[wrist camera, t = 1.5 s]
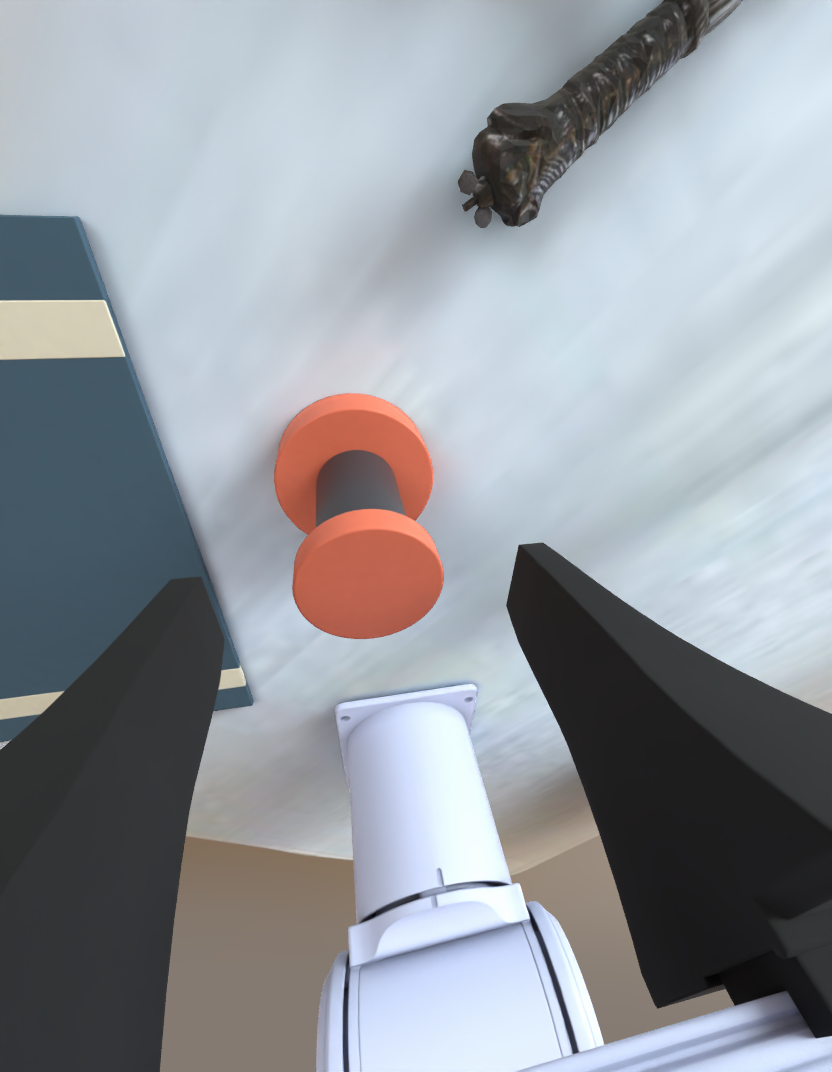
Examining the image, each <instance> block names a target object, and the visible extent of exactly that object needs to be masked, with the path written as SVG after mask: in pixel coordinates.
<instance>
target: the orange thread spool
mask: <svg viewBox="0 0 832 1072" xmlns="http://www.w3.org/2000/svg"><path fill="white" fill-rule="evenodd" d="M274 483H275V491H276V494H277V498H278V501H279V503H280V505H281V507H282V509H283V510H284V512H285V514H286V515H287V516H288V518H289V519H290V520H291V521H292V522H293V523H294V524H295V525H296V526H297V527H298V528H299V529H300V530H302V531H303V532H305V533H306V534H307V535H308V536H307V537H306V538H305V540H304V541H303V542H302V544H301V546H300V547H299V549H298V552H297V554H296V557H295V561H294V573H293V587H292V589H293V597H294V600H295V603H296V605H297V607H298V609H299V611H300V612H301V613H302V615H303V616H304V617H305V618H306V619H307V620H308V621H309V622H310V623H311V624H313V625H314V626H315V627H317V628H319V629H320V630H322V631H324V632H327V633H329V634H332V635H335V636H339V637H344V638H352V639H370V638H378V637H383V636H387V635H391V634H394V633H396V632H399V631H401V630H404V629H406V628H408V627H409V626H411V625H413V624H415V623H416V622H417V621H419V620H420V619H421V618H423V617H424V616H425V615H426V614H427V613H428V612H429V611H430V610H431V608H432V607H433V606H434V604H435V603H436V601H437V599H438V597H439V596H440V593H441V590H442V586H443V580H444V572H443V567H442V563H441V561H440V558H439V555H438V552H437V549H436V546H435V544H434V541H433V540H432V538H431V536H430V535H429V534H428V532H427V531H426V530H425V529H424V528H423V527H422V526H421V525H420V524H418V523H417V522H415V520H416V519H417V518H418V517H419V515H420V514H421V513H422V511H423V509H424V508H425V506H426V504H427V502H428V499H429V497H430V493H431V490H432V484H433V468H432V462H431V459H430V456H429V453H428V450H427V448H426V446H425V444H424V442H423V440H422V437H421V435H420V433H419V431H418V429H417V428H416V426H415V425H414V423H413V422H412V421H411V420H410V418H409V417H408V416H407V415H406V414H405V413H403V412H402V411H401V410H400V409H399V408H397V407H396V406H394V405H392V404H391V403H389V402H387V401H385V400H382V399H380V398H377V397H373V396H370V395H364V394H339V395H334V396H330V397H326V398H324V399H321V400H319V401H317V402H315V403H313V404H311V405H309V406H308V407H306V408H305V409H304V410H302V411H301V412H300V413H299V414H298V415H297V416H296V417H295V418H294V419H293V420H292V421H291V423H290V424H289V425H288V427H287V428H286V430H285V432H284V434H283V436H282V439H281V441H280V444H279V449H278V454H277V460H276V466H275V471H274Z"/></svg>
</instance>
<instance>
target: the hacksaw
mask: <svg viewBox="0 0 832 1072" xmlns="http://www.w3.org/2000/svg"><path fill="white" fill-rule="evenodd" d="M742 1H743V0H663V2H662V4H660V5H659V6H658V7H656V8H655V9H654V10H652V11H651V12H649V13H648V14H647V15H646V17H645V18H644V19H642V20H640V21H638V22H637V23H636V24H635V25H634V26H633V27H632V28H631V29H630V30H629V31H628V32H627V33H626V34H624V35H622V36H621V37H620V38H618V39H617V40H616V41H615V42H614V43H613V44H611V45H610V46H609V47H608V48H607V49H606V50H605V51H604V52H603V53H602V54H600V55H599V56H597V57H596V58H595V59H594V61H593V62H592V63H591V64H589V65H588V66H587V67H585V68H584V69H583V70H581V71H580V72H578V73H576V74H575V75H574V76H573V77H571V78H570V79H569V80H568V81H567V82H566V84H565V85H564V86H563V88H561V89H560V90H559V91H557V92H556V93H555V94H553V95H552V96H551V97H549V98H548V99H547V100H543V101H540V102H537V103H534V104H526V103H507V104H502V105H500V106H498V107H496V108H495V109H494V110H493V111H492V113H491V114H490V115H489V117H488V118H487V123H488V127H487V128H485V129H484V130H482V131H481V132H480V133H479V134H478V135H477V137H476V138H475V140H474V145H473V151H472V159H473V165H474V170H475V175H474V173H473V172H471V171H466V170H464V172H463V174H462V175H461V177H460V179H459V180H458V184H459V188H460V191H461V192H462V193H465V194H468V195H470V194H471V193H473V196H474V197H472V198H471V199H470V200H468V201H467V202H466V203H464V204H463V205H462V207H463V209H464V211H465V212H466V211H467V210H469V209H470V208H472V207H473V206H475V205H476V204H477V206H478V209H477V210H476V212H475V216H474V218H475V222H476V224H477V225H478V226H479V227H480V228H485V227H487V226H488V224H489V223H490V222H491V217H492V212H491V210H490V208H489V207H491V208H492V209H493V210H494V211H495V212H497V213H498V214H499V215H500V216H501V218H502V220H503V222H504V223H505V225H507V226H519V227H520V226H522V225H524V224H526V223H527V222H529V221H531V220H533V219H534V218H536V217H537V215H538V212H539V208H540V204H541V200H542V198H543V195H544V194H545V192H546V191H547V190H548V189H549V188H550V187H551V186H552V184H553V183H554V182H555V181H556V180H558V179H559V178H561V176H562V175H563V174H564V173H565V172H566V170H567V169H568V168H569V167H570V166H571V165H572V164H573V163H574V162H575V161H576V160H577V159H578V158H579V157H580V156H581V155H582V154H583V152H584V150H586V149H587V148H589V147H590V146H592V145H593V144H595V143H596V142H597V140H598V138H599V136H600V135H601V134H603V133H604V132H605V131H606V130H607V129H608V128H610V127H611V126H612V125H613V123H614V122H615V121H616V120H617V118H618V117H619V116H620V115H621V114H623V113H624V112H625V111H626V110H627V109H628V108H629V106H630V105H631V104H632V103H633V102H634V101H635V100H636V99H637V98H639V97H640V96H641V95H643V94H644V93H645V92H646V91H648V90H649V89H650V87H651V86H652V85H653V84H654V83H655V82H656V81H657V80H658V79H659V78H660V77H661V76H662V75H663V74H665V73H666V72H667V71H668V70H669V69H670V68H671V67H672V66H673V65H674V64H675V63H676V62H677V61H678V60H679V59H681V58H685V57H686V56H688V55H689V54H690V53H692V52H693V51H694V50H695V49H696V48H697V46H698V45H699V43H700V41H701V39H702V38H703V37H704V36H705V35H706V34H708V33H709V32H711V31H712V30H713V29H715V28H716V27H717V26H718V25H719V24H720V23H721V22H722V21H723V20H725V19H726V18H727V17H728V16H729V15H730V14H731V13H732V12H733V11H734V10H735V9H736V8H737V7H738V6H739V4H740V3H741V2H742ZM475 176H476V177H475Z"/></svg>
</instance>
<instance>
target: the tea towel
mask: <svg viewBox="0 0 832 1072" xmlns="http://www.w3.org/2000/svg"><path fill="white" fill-rule="evenodd" d="M199 576H201V577H202V580H203V582H204V585H205V588H206V590H207V593H208V596H209V598H210V601H211V604H212V606H213V609H214V612H215V614H216V617H217V620H218V622H219V625H220V628H221V630H222V633H223V636H224V638H225V642H224V652H223V662H222V670H221V678H220V685H219V689H218V693H217V697H216V702H215V706H214V710H213V711H217V710H224V709H231V708H238V707H245V706H252V705H253V698H252V696H251V693H250V690H249V687H248V684H247V682H246V679H245V676H244V673H243V671H242V668H241V665H240V662H239V659H238V657H237V654H236V651H235V648H234V646H233V643H232V640H231V637H230V634H229V632H228V629H227V626H226V623H225V621H224V618H223V615H222V612H221V609H220V607H219V604H218V601H217V598H216V596H215V593H214V590H213V587H212V584H211V582H210V579H209V576H208V573H207V571H206V568H205V565H204V562H203V559H202V557H201V554H200V551H199V548H198V546H197V543H196V540H195V537H194V534H193V532H192V529H191V526H190V523H189V521H188V518H187V515H186V512H185V509H184V507H183V504H182V501H181V498H180V496H179V493H178V490H177V487H176V484H175V482H174V479H173V476H172V473H171V471H170V468H169V465H168V462H167V459H166V457H165V454H164V451H163V448H162V446H161V443H160V440H159V437H158V434H157V432H156V429H155V426H154V423H153V421H152V418H151V415H150V412H149V410H148V407H147V404H146V401H145V398H144V396H143V393H142V390H141V387H140V385H139V382H138V379H137V376H136V373H135V371H134V368H133V365H132V362H131V360H130V357H129V354H128V351H127V348H126V346H125V343H124V340H123V337H122V335H121V332H120V329H119V326H118V323H117V321H116V318H115V315H114V312H113V310H112V307H111V304H110V301H109V298H108V296H107V293H106V290H105V287H104V285H103V282H102V279H101V276H100V273H99V271H98V268H97V265H96V262H95V260H94V257H93V254H92V251H91V248H90V246H89V243H88V240H87V237H86V235H85V232H84V229H83V226H82V223H81V221H80V218H79V217H67V216H22V215H0V742H3V741H10V740H13V739H14V738H15V737H16V736H17V735H18V734H19V733H21V732H22V731H23V730H24V729H25V728H26V727H27V726H28V725H29V724H31V723H32V722H33V721H34V720H35V719H36V718H37V717H38V716H39V715H40V714H41V713H43V712H44V711H45V710H46V709H47V708H48V707H49V706H50V705H51V704H52V703H53V702H54V701H55V700H56V699H57V698H58V697H59V696H60V695H61V694H62V693H63V692H64V691H65V690H66V689H67V688H68V687H69V686H70V685H71V684H72V683H73V682H74V681H75V680H76V679H77V678H78V677H79V676H80V675H81V674H83V673H84V672H85V671H86V670H87V669H88V668H89V667H90V666H91V665H92V664H93V663H94V662H95V661H96V660H97V658H98V657H99V656H100V655H101V654H102V653H103V652H104V651H105V650H106V649H107V648H108V647H109V646H110V645H111V644H112V643H113V641H114V640H115V639H116V638H117V637H118V636H119V635H120V634H121V633H122V632H123V631H124V630H125V629H126V628H127V626H128V625H129V624H130V623H131V622H132V621H133V620H134V619H135V618H136V617H137V616H138V614H139V613H140V612H141V611H142V610H143V609H144V608H145V607H146V606H147V604H148V603H149V602H150V601H151V600H152V599H153V598H154V597H155V596H156V595H157V594H158V592H159V591H160V590H161V589H162V588H163V587H164V586H165V585H166V584H167V583H168V582H169V581H170V580H171V579H178V578H188V577H199Z"/></svg>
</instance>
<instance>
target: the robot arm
mask: <svg viewBox="0 0 832 1072" xmlns="http://www.w3.org/2000/svg"><path fill="white" fill-rule="evenodd" d="M506 606H507V609H508V612H509V615H510V618H511V621H512V625H513V627H514V630H515V633H516V636H517V639H518V642H519V644H520V646H521V648H522V650H523V653H524V655H525V657H526V659H527V661H528V663H529V665H530V667H531V669H532V671H533V673H534V675H535V677H536V679H537V681H538V683H539V686H540V688H541V690H542V692H543V694H544V696H545V698H546V700H547V702H548V704H549V706H550V708H551V710H552V712H553V714H554V716H555V718H556V720H557V722H558V724H559V726H560V729H561V731H562V733H563V736H564V738H565V740H566V742H567V745H568V747H569V750H570V753H571V755H572V758H573V761H574V763H575V766H576V769H577V771H578V774H579V777H580V779H581V782H582V785H583V787H584V790H585V793H586V796H587V799H588V802H589V805H590V807H591V810H592V813H593V816H594V819H595V822H596V825H597V827H598V830H599V833H600V836H601V839H602V842H603V845H604V849H605V852H606V855H607V858H608V861H609V864H610V867H611V870H612V874H613V877H614V880H615V883H616V886H617V889H618V893H619V896H620V900H621V903H622V906H623V910H624V913H625V917H626V920H627V923H628V926H629V930H630V933H631V937H632V940H633V944H634V948H635V951H636V955H637V959H638V962H639V966H640V970H641V973H642V976H643V978H644V980H645V983H646V985H647V988H648V990H649V992H650V994H651V997H652V999H653V1002H654V1004H655V1006H656V1007H657V1008H661V1007H665V1006H668V1005H671V1004H675V1003H678V1002H682V1001H685V1000H689V999H692V998H696V997H699V996H702V995H705V994H709V993H713V992H716V991H720V990H723V989H726V990H727V992H728V994H729V996H730V998H731V999H732V1001H733V1003H734V1005H735V1006H733V1007H730V1008H726V1009H723V1010H720V1011H717V1012H713V1013H710V1014H706V1015H703V1016H700V1017H697V1018H693V1019H690V1020H686V1021H683V1022H679V1023H677V1024H673V1025H670V1026H666V1027H663V1028H659V1029H656V1030H653V1031H649V1032H646V1033H643V1034H639V1035H636V1036H633V1037H629V1038H626V1039H623V1040H619V1041H616V1042H612V1043H609V1044H606V1045H604V1043H603V1039H602V1036H601V1032H600V1029H599V1025H598V1022H597V1019H596V1016H595V1012H594V1009H593V1006H592V1003H591V1000H590V997H589V994H588V992H587V988H586V985H585V983H584V980H583V977H582V974H581V972H580V969H579V966H578V964H577V961H576V959H575V956H574V954H573V951H572V950H571V947H570V944H569V942H568V940H567V938H566V936H565V934H564V932H563V930H562V928H561V926H560V924H559V923H558V921H557V920H556V918H555V917H554V916H553V915H551V914H550V913H549V912H548V911H546V910H545V909H544V908H543V907H542V905H541V904H540V903H538V902H536V901H532V902H528V903H525V900H524V897H523V894H522V890H521V887H520V884H519V883H515V884H512V882H511V879H510V875H509V871H508V868H507V864H506V861H505V857H504V854H503V850H502V847H501V844H500V840H499V837H498V833H497V830H496V826H495V823H494V819H493V816H492V812H491V809H490V805H489V802H488V798H487V795H486V791H485V788H484V784H483V781H482V777H481V774H480V771H479V767H478V764H477V760H476V757H475V753H474V750H473V746H472V743H471V739H470V732H471V726H472V720H473V715H474V709H475V704H476V698H477V689H476V686H475V685H473V684H465V685H458V686H452V687H445V688H438V689H431V690H425V691H418V692H411V693H404V694H398V695H391V696H384V697H377V698H371V699H364V700H357V701H350V702H344V703H340V704H338V705H337V706H336V707H335V716H336V722H337V728H338V734H339V740H340V746H341V752H342V758H343V764H344V770H345V776H346V782H347V786H348V788H350V805H351V824H352V843H353V861H354V881H355V901H356V920H357V924H356V925H353V926H350V927H349V928H348V938H349V950H346V951H342V952H340V953H339V954H338V955H337V956H336V958H335V960H334V962H333V966H332V968H331V970H330V972H329V973H328V975H327V977H326V979H325V982H324V985H323V989H322V995H321V1000H320V1008H319V1018H318V1031H317V1058H316V1059H317V1060H316V1072H832V714H830V713H828V712H826V711H823V710H821V709H819V708H816V707H814V706H812V705H810V704H807V703H805V702H803V701H801V700H799V699H797V698H794V697H792V696H790V695H788V694H786V693H783V692H781V691H779V690H777V689H775V688H773V687H771V686H769V685H767V684H765V683H763V682H761V681H759V680H757V679H755V678H753V677H751V676H749V675H747V674H745V673H743V672H741V671H739V670H737V669H735V668H733V667H731V666H729V665H727V664H725V663H723V662H722V661H720V660H718V659H716V658H714V657H713V656H711V655H709V654H707V653H705V652H704V651H702V650H700V649H698V648H697V647H695V646H693V645H691V644H690V643H688V642H686V641H684V640H683V639H681V638H679V637H678V636H676V635H674V634H673V633H671V632H669V631H668V630H666V629H665V628H663V627H662V626H660V625H658V624H657V623H655V622H654V621H652V620H651V619H649V618H648V617H646V616H645V615H643V614H641V613H640V612H638V611H637V610H635V609H634V608H633V607H631V606H630V605H628V604H627V603H625V602H624V601H622V600H621V599H620V598H618V597H617V596H615V595H614V594H612V593H611V592H610V591H608V590H607V589H605V588H604V587H603V586H601V585H600V584H599V583H597V582H596V581H595V580H593V579H592V578H590V577H589V576H588V575H586V574H585V573H584V572H582V571H581V570H580V569H578V568H577V567H576V566H574V565H573V564H572V563H570V562H569V561H568V560H566V559H565V558H564V557H562V556H561V555H560V554H558V553H557V552H556V551H554V550H553V549H551V548H550V547H548V546H547V545H546V544H544V543H534V544H524V545H519V547H518V552H517V556H516V561H515V566H514V571H513V576H512V580H511V585H510V590H509V595H508V600H507V604H506ZM224 642H225V638H224V636H223V633H222V630H221V628H220V625H219V622H218V620H217V617H216V614H215V612H214V609H213V606H212V604H211V601H210V598H209V596H208V593H207V590H206V588H205V585H204V582H203V580H202V577H201V576H199V577H188V578H178V579H171V580H170V581H169V582H168V583H167V584H166V585H165V586H164V587H163V588H162V589H161V590H160V591H159V592H158V594H157V595H156V596H155V597H154V598H153V599H152V600H151V601H150V602H149V603H148V604H147V606H146V607H145V608H144V609H143V610H142V611H141V612H140V613H139V614H138V616H137V617H136V618H135V619H134V620H133V621H132V622H131V623H130V624H129V625H128V626H127V628H126V629H125V630H124V631H123V632H122V633H121V634H120V635H119V636H118V637H117V638H116V639H115V640H114V641H113V643H112V644H111V645H110V646H109V647H108V648H107V649H106V650H105V651H104V652H103V653H102V654H101V655H100V656H99V657H98V658H97V660H96V661H95V662H94V663H93V664H92V665H91V666H90V667H89V668H88V669H87V670H86V671H85V672H84V673H83V674H81V675H80V676H79V677H78V678H77V679H76V680H75V681H74V682H73V683H72V684H71V685H70V686H69V687H68V688H67V689H66V690H65V691H64V692H63V693H62V694H61V695H60V696H59V697H58V698H57V699H56V700H55V701H54V702H53V703H52V704H51V705H50V706H49V707H48V708H47V709H46V710H45V711H44V712H43V713H41V714H40V715H39V716H38V717H37V718H36V719H35V720H34V721H33V722H32V723H31V724H29V725H28V726H27V727H26V728H25V729H24V730H23V731H22V732H21V733H19V734H18V735H17V736H16V737H15V738H14V739H13V740H11V741H10V742H9V743H8V744H7V745H6V746H4V747H3V748H2V749H1V750H0V1072H160V1060H161V1049H162V1036H163V1025H164V1013H165V1002H166V989H167V981H168V972H169V963H170V953H171V944H172V935H173V926H174V917H175V909H176V902H177V894H178V886H179V879H180V871H181V863H182V857H183V850H184V843H185V837H186V830H187V823H188V816H189V810H190V805H191V800H192V796H193V791H194V786H195V782H196V778H197V774H198V770H199V766H200V762H201V758H202V754H203V750H204V746H205V742H206V738H207V734H208V730H209V726H210V722H211V718H212V714H213V710H214V706H215V702H216V697H217V693H218V689H219V685H220V678H221V670H222V662H223V652H224Z"/></svg>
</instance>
